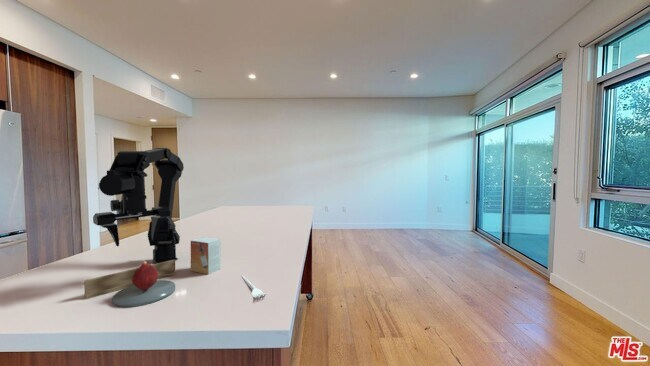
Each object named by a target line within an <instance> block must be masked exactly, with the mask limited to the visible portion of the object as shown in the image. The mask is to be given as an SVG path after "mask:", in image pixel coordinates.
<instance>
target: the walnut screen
mask: <svg viewBox="0 0 650 366" xmlns="http://www.w3.org/2000/svg"><path fill="white" fill-rule="evenodd" d="M151 265H152V266H154V267H155V268H156V270H157V272H158V278H157V280H162V279H165V278H169V277H171V276H175V275H177V271H176V260H170V261H165V262H161V263H157V262H156V263H153V264H151ZM138 268H139V267H136V268H132V269H127V270H124V271H123V270H122V271H119V272H114V273H110V274H106V275H101V276H98V277H94V278H89V279H85V280H84V281H83V286H84V287H83V289H84V291H83V292H84V293H83V295H84V299H85V300H87V299H91V298H95V297H99V296H102V295H106V294H110V293H113V292H118V291H120V290H122V289H124V288H127V287H129V286H132V285H134V284H133V282H132V277H133V274H134V272H135V271H136V270H137V269H138Z"/></svg>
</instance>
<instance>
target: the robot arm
mask: <svg viewBox="0 0 650 366" xmlns="http://www.w3.org/2000/svg"><path fill="white" fill-rule="evenodd" d="M151 163H154V166H155V168H156V169H157V175H159V178H160V179H161V184H160V190H159V191H160V192H159V198H158V205H157V206H154V207H151V209H150V210H148V208H147V205H146V204H147V203H146V202H147V201H146V200H147V198H148V197H147V195H146V181H145V180H146V179H145V178H146V177H148V174H147V173H146V172H145V170H146V169H147V168H149V167H150V166H151ZM184 166H185V165H184V163H183V161H182V159H181V158H180V156H178V155H176V154H175V153H173V151H172V150H170V148H167V147H155V148H151V149H148V150H120V151H118V152H117V154H116V156H115V157H114V159H113V162H112V164H111V166H110V168H109V169H108V170H106V174H105V175H104V176H102V177H101V179H100V181H99V182H98V188H99V190H100V192H101V194H104V195H105V196H109V197H113V196H119V195H121V197H120V198H121V200H119V199H112V200H110V202H109V204H110V211H105V212H96V213H94V215H93V216H92V222H93V224H94V225H96V226H100V227H102V228H104V229H107V232H109V234H110V235H111V238H112V240H113V242H114V243H115V246H116V247H119V246H120V237H119V230H118V224H117V223H115V222H116V221H121V220H122V221H123V220H128V219H130V220H131V219H136V218H137V219H138V218H143V217H144V218H145V217H150V219H151V220H150V222H149V226H148V230H147V239H148V243H149V246H151V247H153V246H154V248H153V249H152V261H153V262H155V263H156V264H157V263H161V262H165V261H170V260H175V261H177V260H178V259H179V258H178V257H177V252H176V251H177V249H176V248H177V247H176V245H179V244H180V241H181V239H180V238H181V236H180V235H179V233H178V231H177V230H176V224H175V222H174V220H173V219H172V218H173V217H172V216H173V210H174V209H173V208H174V203H175V202H174V201H175V192H176V183H177V182H178V180H179V179H180V178H181V177H182V176H183V175H182V174H183V171H184ZM115 211H116V212H117V211H118V213H115Z"/></svg>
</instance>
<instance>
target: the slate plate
mask: <svg viewBox="0 0 650 366" xmlns="http://www.w3.org/2000/svg"><path fill="white" fill-rule="evenodd" d="M175 291H176V284H175V282H174V281H171V280H164V279H163V280H162V279H158V280H157V281H156V283H155V284H154V285H153V286H152V287H150V288H149V289H148V290H146V291H143V290H141V289H139V288H137V287H135V285H132V286H129V287H127V288H124V289H121V290H118V291H116V292H115V294H113V296H112V304H113V305H114V306H116V307H120V308H133V307H142V306H146V305H150V304H153V303H156V302H159V301H162V300H163V299H166V298H168V297H169V296H171V295H172V294H173V293H174V292H175Z"/></svg>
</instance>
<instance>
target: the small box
mask: <svg viewBox="0 0 650 366" xmlns="http://www.w3.org/2000/svg"><path fill="white" fill-rule="evenodd" d="M221 244H222V243H221V239H220V238H211V237H200V238H195V239H191V240H190V271H191V272H193V273H194V272H196V273H200V274H204V275H210V274H213V273H215V272H217V271H219V270H221V267H222V266H221V261H222V258H221Z"/></svg>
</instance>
